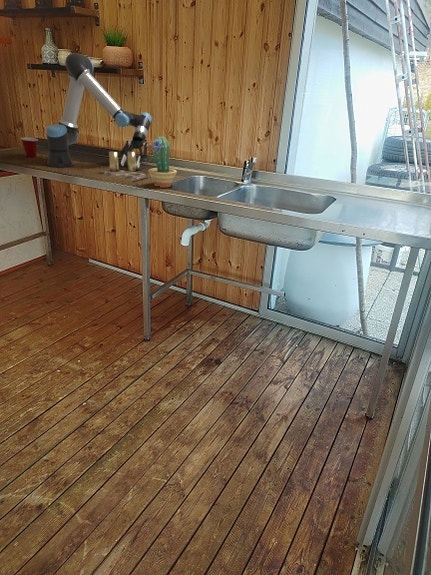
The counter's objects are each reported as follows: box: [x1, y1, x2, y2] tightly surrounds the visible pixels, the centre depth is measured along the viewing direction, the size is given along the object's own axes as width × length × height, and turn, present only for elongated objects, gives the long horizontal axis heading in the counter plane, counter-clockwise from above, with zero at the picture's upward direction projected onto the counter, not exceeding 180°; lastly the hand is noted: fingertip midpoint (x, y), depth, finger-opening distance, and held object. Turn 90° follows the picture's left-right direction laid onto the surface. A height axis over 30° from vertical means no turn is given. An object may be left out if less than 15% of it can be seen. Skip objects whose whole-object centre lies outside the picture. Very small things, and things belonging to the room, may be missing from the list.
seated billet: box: [108, 151, 120, 173], centre depth 229 cm, size 5×5×12 cm
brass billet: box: [126, 150, 137, 172], centre depth 243 cm, size 5×5×12 cm
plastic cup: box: [20, 137, 39, 158], centre depth 271 cm, size 11×11×12 cm
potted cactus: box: [147, 136, 178, 188], centre depth 211 cm, size 15×15×25 cm
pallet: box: [100, 169, 149, 183], centre depth 229 cm, size 23×14×3 cm, turn 65°
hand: (129, 165), depth 241 cm, fingers open, 9 cm apart
